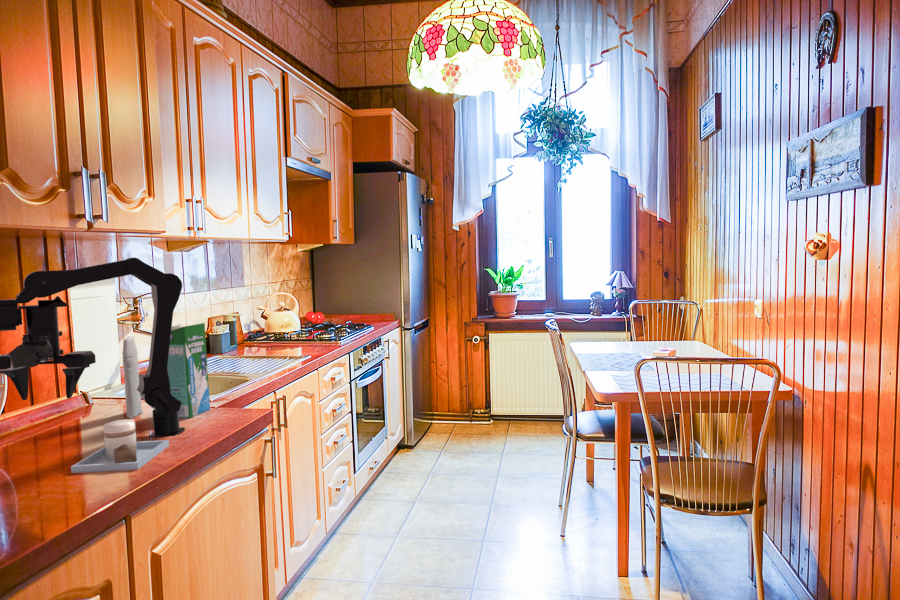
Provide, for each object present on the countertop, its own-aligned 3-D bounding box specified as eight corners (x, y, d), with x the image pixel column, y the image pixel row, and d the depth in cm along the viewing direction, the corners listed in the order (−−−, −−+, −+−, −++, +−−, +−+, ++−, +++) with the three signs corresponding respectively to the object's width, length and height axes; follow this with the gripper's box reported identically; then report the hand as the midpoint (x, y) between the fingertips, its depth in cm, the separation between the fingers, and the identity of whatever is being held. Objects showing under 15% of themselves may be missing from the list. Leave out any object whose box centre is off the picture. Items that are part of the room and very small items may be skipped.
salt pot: (121, 461, 123) (119, 441, 123) (140, 460, 123) (139, 441, 123) (111, 468, 119) (109, 448, 119) (131, 467, 119) (129, 447, 119)
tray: (110, 450, 132) (109, 442, 132) (169, 447, 133) (168, 439, 133) (71, 475, 117) (70, 466, 117) (138, 471, 118) (137, 463, 118)
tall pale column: (138, 418, 160) (132, 338, 158) (121, 419, 159) (115, 339, 157) (146, 408, 170) (141, 333, 168) (131, 410, 169) (125, 334, 167)
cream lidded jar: (114, 450, 130) (112, 419, 129) (142, 449, 130) (140, 418, 130) (99, 460, 124) (97, 428, 123) (129, 459, 124) (126, 426, 124)
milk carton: (182, 408, 168) (176, 322, 167) (210, 409, 167) (204, 322, 165) (161, 417, 160) (154, 326, 158) (190, 418, 158) (184, 326, 156)
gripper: (-30, 334, 119) (-25, 409, 119) (67, 331, 120) (71, 406, 121) (6, 328, 130) (11, 397, 131) (94, 325, 131) (98, 394, 132)
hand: (47, 399), depth 128 cm, fingers open, 9 cm apart
